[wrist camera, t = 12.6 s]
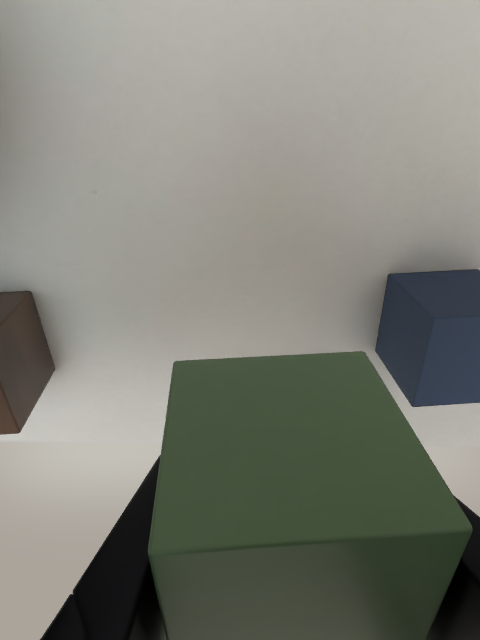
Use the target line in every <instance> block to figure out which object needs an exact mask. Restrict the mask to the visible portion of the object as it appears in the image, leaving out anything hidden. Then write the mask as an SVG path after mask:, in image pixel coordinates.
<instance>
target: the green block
mask: <svg viewBox="0 0 480 640" xmlns="http://www.w3.org/2000/svg"><path fill="white" fill-rule="evenodd" d="M472 531H473V530H472V525H471V524H470V522H469V520H468V519H467V517H466V515H465V514H464V512H463V511H462V509H461V507H460V506H459V504H458V502H457V501H456V499H455V498H454V496H453V494H452V493H451V491H450V489H449V488H448V486H447V485H446V483H445V481H444V480H443V478H442V477H441V475H440V473H439V472H438V470H437V468H436V467H435V465H434V464H433V462H432V460H431V459H430V457H429V455H428V454H427V452H426V451H425V449H424V447H423V446H422V444H421V442H420V441H419V439H418V438H417V436H416V434H415V433H414V431H413V429H412V428H411V426H410V425H409V423H408V421H407V420H406V418H405V416H404V415H403V413H402V412H401V410H400V408H399V407H398V405H397V403H396V402H395V400H394V399H393V397H392V395H391V394H390V392H389V391H388V389H387V387H386V386H385V384H384V382H383V381H382V379H381V378H380V376H379V374H378V373H377V371H376V369H375V368H374V366H373V365H372V363H371V361H370V360H369V358H368V356H367V355H366V353H365V352H363V351H359V352H340V353H320V354H301V355H282V356H263V357H244V358H224V359H205V360H186V361H175V362H174V364H173V369H172V377H171V384H170V391H169V399H168V406H167V413H166V421H165V428H164V435H163V443H162V450H161V457H160V465H159V472H158V479H157V487H156V494H155V501H154V508H153V516H152V523H151V530H150V538H149V545H148V556H149V561H150V565H151V570H152V575H153V579H154V584H155V588H156V593H157V598H158V602H159V607H160V612H161V616H162V621H163V625H164V630H165V635H166V639H167V640H426V639H427V636H428V634H429V632H430V629H431V627H432V625H433V622H434V620H435V618H436V615H437V613H438V611H439V608H440V606H441V604H442V601H443V599H444V597H445V594H446V592H447V590H448V587H449V585H450V583H451V580H452V578H453V576H454V573H455V571H456V569H457V566H458V564H459V562H460V559H461V557H462V555H463V552H464V550H465V548H466V545H467V543H468V541H469V538H470V536H471V534H472Z"/></svg>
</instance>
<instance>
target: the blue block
mask: <svg viewBox="0 0 480 640" xmlns="http://www.w3.org/2000/svg"><path fill="white" fill-rule="evenodd" d="M375 351H376V353H377V354H378V356H379V357H380V359H381V360H382V362H383V363H384V365H385V366H386V368H387V369H388V371H389V372H390V374H391V375H392V377H393V378H394V380H395V382H396V383H397V385H398V386H399V388H400V389H401V391H402V392H403V394H404V395H405V397H406V398H407V400H408V401H409V403H410V404H411V406H412V407H421V406H435V405H450V404H465V403H480V271H479V270H460V271H440V272H419V273H399V274H389V275H388V280H387V286H386V292H385V298H384V303H383V309H382V315H381V321H380V327H379V333H378V338H377V344H376V350H375Z"/></svg>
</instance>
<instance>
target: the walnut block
mask: <svg viewBox="0 0 480 640" xmlns="http://www.w3.org/2000/svg"><path fill="white" fill-rule="evenodd" d="M54 371H55V368H54V365H53V362H52V359H51V355H50V352H49V349H48V346H47V342H46V339H45V336H44V333H43V329H42V326H41V323H40V320H39V316H38V313H37V310H36V306H35V303H34V300H33V297H32V293H31V292H13V293H0V435H1V434H16V433H20V432H21V430H22V428H23V426H24V424H25V423H26V421H27V419H28V417H29V416H30V414H31V412H32V410H33V408H34V407H35V405H36V403H37V401H38V399H39V398H40V396H41V394H42V392H43V390H44V389H45V387H46V385H47V383H48V381H49V380H50V378H51V376H52V374H53V372H54Z"/></svg>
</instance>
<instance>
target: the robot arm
mask: <svg viewBox="0 0 480 640" xmlns="http://www.w3.org/2000/svg"><path fill="white" fill-rule="evenodd" d="M160 457H161V455H160V456H159V457H158V459H157V461H156V462H155V464H154V465H153V467H152V468H151V470H150V471H149V473H148V475H147V476H146V478H145V479H144V481H143V482H142V484H141V486H140V487H139V489H138V490H137V492H136V493H135V495H134V496H133V498H132V499H131V501H130V502H129V504H128V506H127V507H126V509H125V510H124V512H123V513H122V515H121V516H120V518H119V519H118V521H117V523H116V524H115V526H114V527H113V529H112V530H111V532H110V534H109V535H108V537H107V538H106V540H105V541H104V543H103V544H102V546H101V548H100V549H99V551H98V552H97V554H96V555H95V557H94V559H93V560H92V562H91V563H90V565H89V566H88V568H87V569H86V571H85V572H84V574H83V575H82V577H81V579H80V580H79V582H78V583H77V585H76V586H75V588H74V590H73V594H70V595H69V597H68V598H67V600H66V601H65V603H64V605H63V606H62V608H61V610H60V611H59V613H58V614H57V615H56V617H55V619H54V620H53V621H52V623H51V624H50V626H49V628H48V629H47V630H46V632H45V633H44V635H43V636H42V638H41V639H40V640H167V639H166V635H165V630H164V625H163V621H162V616H161V612H160V607H159V602H158V598H157V593H156V588H155V584H154V579H153V575H152V570H151V565H150V561H149V556H148V545H149V538H150V530H151V523H152V516H153V508H154V501H155V494H156V487H157V479H158V472H159V465H160ZM453 496H454V495H453ZM454 498H455V499H456V501H457V502H458V504H459V506H460V507H461V509H462V511H463V512H464V514H465V515H466V517H467V519H468V520H469V522H470V524H471V525H472V530H473V531H472V534H471V536H470V538H469V541H468V543H467V545H466V548H465V550H464V552H463V555H462V557H461V559H460V562H459V564H458V566H457V569H456V571H455V573H454V576H453V578H452V580H451V583H450V585H449V587H448V590H447V592H446V594H445V597H444V599H443V601H442V604H441V606H440V608H439V611H438V613H437V615H436V618H435V620H434V622H433V625H432V627H431V629H430V632H429V634H428V636H427V639H426V640H480V517H479V516H478V515H476V514H475V513H474V512H473V511H472V510H470V509H469V508H468V507H467V506H466V505H464V504H463V503H462V502H461V501H460V500H458V499H457V498H456V497H455V496H454Z"/></svg>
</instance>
